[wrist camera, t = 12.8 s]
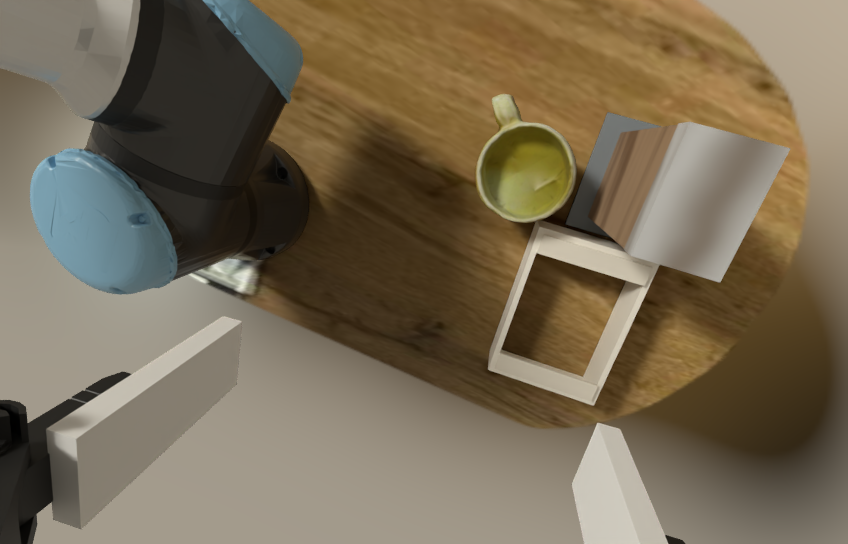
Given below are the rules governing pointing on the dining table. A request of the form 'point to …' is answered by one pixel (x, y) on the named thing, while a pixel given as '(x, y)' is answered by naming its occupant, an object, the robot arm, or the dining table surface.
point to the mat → (600, 169)
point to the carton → (638, 279)
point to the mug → (524, 167)
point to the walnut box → (685, 194)
